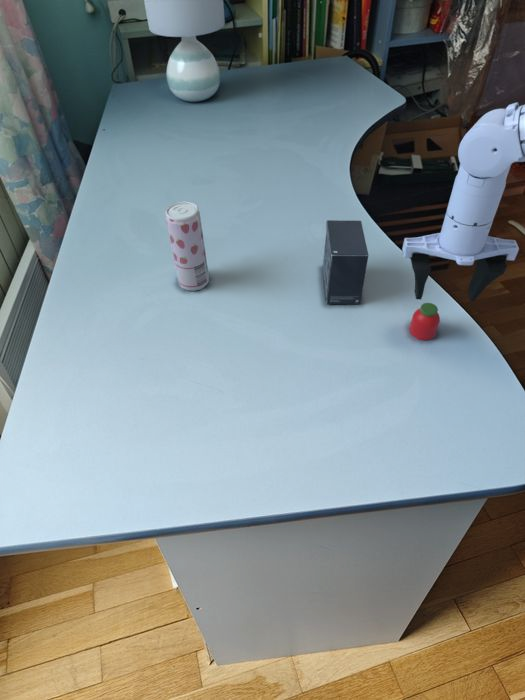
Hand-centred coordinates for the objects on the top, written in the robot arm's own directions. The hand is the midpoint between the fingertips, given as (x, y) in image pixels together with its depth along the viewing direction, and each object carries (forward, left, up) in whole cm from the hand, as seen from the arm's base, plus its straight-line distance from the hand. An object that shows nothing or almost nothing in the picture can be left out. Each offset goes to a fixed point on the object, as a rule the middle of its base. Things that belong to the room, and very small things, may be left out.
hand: (444, 295), depth 71 cm
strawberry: (+1, -2, -9) cm, 9 cm away
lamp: (+49, -108, -9) cm, 119 cm away
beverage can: (+40, -16, -9) cm, 44 cm away
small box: (+13, -14, -9) cm, 21 cm away
